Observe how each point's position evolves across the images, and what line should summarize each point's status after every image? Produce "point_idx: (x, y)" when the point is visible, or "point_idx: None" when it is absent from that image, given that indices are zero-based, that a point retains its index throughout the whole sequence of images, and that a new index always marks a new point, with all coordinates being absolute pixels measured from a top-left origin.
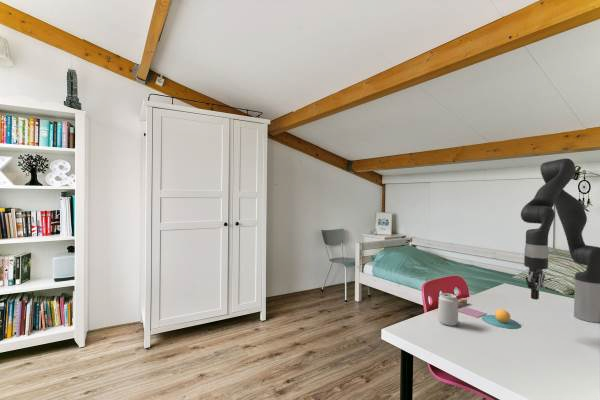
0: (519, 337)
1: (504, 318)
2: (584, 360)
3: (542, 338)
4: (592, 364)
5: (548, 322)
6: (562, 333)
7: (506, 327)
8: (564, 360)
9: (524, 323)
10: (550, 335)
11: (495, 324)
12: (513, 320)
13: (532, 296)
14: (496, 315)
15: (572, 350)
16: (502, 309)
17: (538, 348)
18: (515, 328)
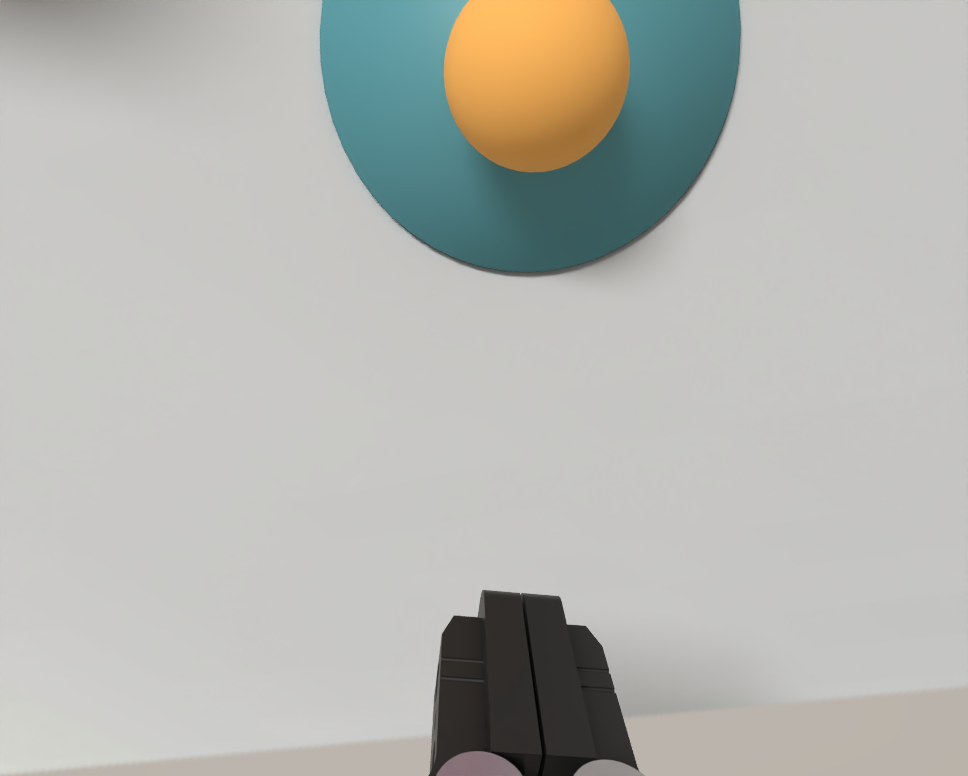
0: (221, 340)
1: (456, 123)
2: (216, 716)
3: (395, 475)
4: (195, 749)
5: (927, 424)
6: (681, 553)
7: (373, 177)
8: (79, 647)
9: (701, 272)
10: (538, 502)
11: (355, 53)
12: (692, 165)
13: (441, 650)
14: (464, 7)
15: (334, 651)
16: (558, 50)
17: (121, 499)
18: (439, 250)
